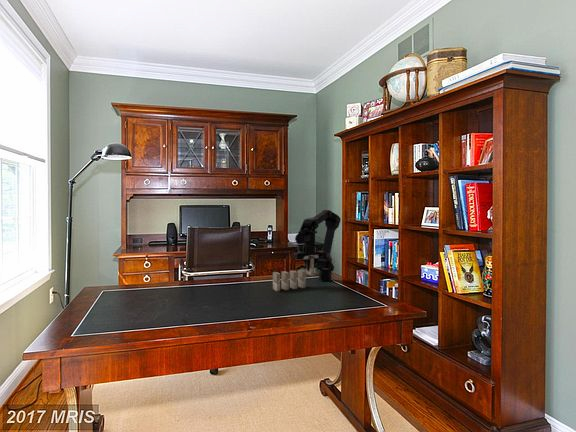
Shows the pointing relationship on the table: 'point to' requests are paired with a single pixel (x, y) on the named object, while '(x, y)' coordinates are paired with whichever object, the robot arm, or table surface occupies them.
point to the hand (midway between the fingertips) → (309, 270)
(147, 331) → the table surface
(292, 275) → the domino
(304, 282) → the domino
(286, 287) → the domino
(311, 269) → the domino
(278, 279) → the domino
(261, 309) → the table surface
